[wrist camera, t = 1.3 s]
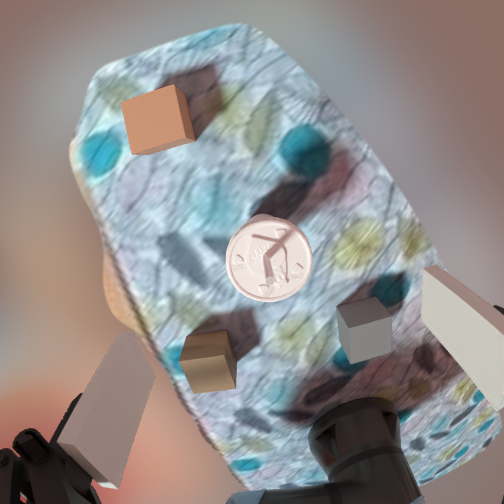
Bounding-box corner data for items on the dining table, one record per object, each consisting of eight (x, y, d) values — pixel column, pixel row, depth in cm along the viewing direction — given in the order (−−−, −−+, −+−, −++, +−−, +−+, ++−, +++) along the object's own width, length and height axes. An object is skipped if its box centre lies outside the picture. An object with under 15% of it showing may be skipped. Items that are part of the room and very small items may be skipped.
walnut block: (236, 361, 36) (235, 388, 31) (198, 367, 36) (193, 393, 31) (226, 329, 34) (224, 354, 30) (186, 336, 35) (178, 361, 30)
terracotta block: (195, 141, 28) (185, 137, 23) (149, 154, 28) (131, 154, 23) (185, 95, 27) (173, 84, 22) (139, 110, 27) (121, 102, 22)
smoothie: (273, 188, 29) (294, 212, 16) (305, 240, 31) (345, 301, 18) (219, 222, 30) (197, 273, 17) (253, 272, 32) (257, 350, 19)
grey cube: (376, 330, 35) (391, 352, 30) (339, 340, 35) (350, 364, 30) (375, 295, 33) (392, 316, 29) (336, 306, 34) (348, 328, 29)
